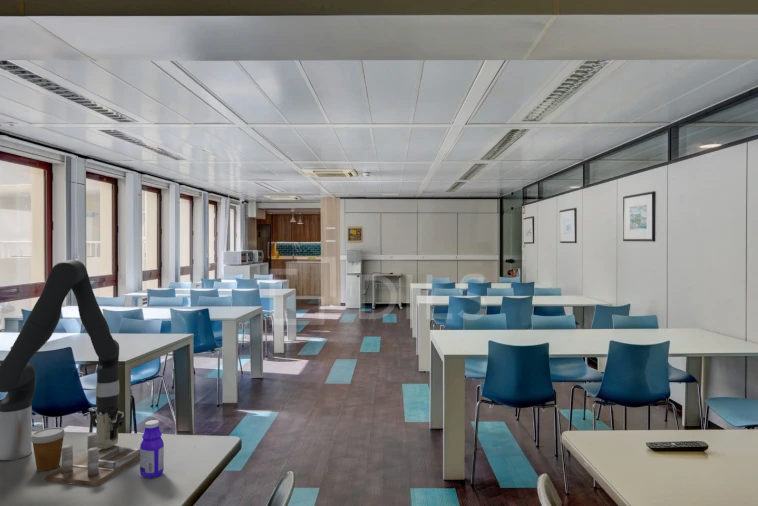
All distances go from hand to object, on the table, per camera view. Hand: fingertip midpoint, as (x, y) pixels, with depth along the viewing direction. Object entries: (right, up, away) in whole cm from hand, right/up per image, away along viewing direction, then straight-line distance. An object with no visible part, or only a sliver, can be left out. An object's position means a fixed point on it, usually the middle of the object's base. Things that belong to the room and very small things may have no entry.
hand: (107, 438), depth 168 cm
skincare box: (0, -3, 0) cm, 3 cm away
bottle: (+28, -3, -21) cm, 35 cm away
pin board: (+6, -3, -17) cm, 18 cm away
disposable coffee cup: (-11, -4, -15) cm, 19 cm away
